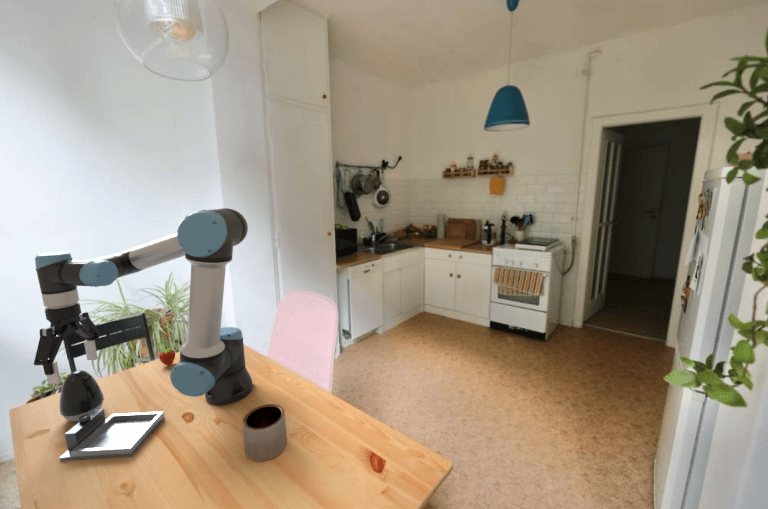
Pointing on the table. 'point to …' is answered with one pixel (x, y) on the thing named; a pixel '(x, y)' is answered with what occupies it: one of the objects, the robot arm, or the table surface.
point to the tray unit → (109, 434)
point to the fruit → (167, 356)
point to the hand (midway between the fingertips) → (74, 370)
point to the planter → (264, 432)
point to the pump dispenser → (79, 395)
